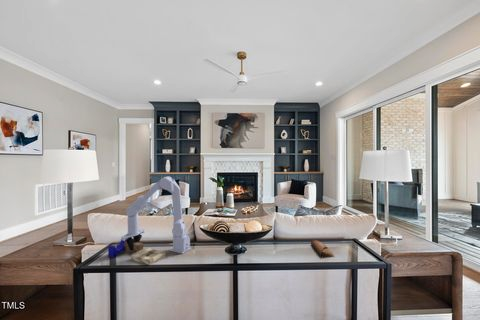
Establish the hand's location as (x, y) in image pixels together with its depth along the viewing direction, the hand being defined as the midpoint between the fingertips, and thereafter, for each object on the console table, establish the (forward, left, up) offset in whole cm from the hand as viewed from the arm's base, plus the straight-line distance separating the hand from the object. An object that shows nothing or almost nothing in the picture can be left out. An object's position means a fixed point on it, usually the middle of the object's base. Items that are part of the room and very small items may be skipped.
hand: (133, 248), depth 142 cm
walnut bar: (0, 0, -2) cm, 2 cm away
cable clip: (+7, +6, -2) cm, 9 cm away
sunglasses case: (-99, -49, -2) cm, 110 cm away
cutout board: (-15, +3, -1) cm, 15 cm away
